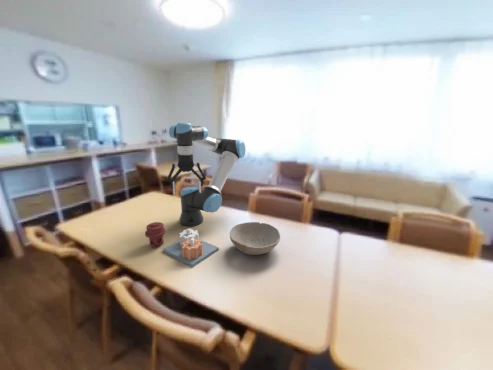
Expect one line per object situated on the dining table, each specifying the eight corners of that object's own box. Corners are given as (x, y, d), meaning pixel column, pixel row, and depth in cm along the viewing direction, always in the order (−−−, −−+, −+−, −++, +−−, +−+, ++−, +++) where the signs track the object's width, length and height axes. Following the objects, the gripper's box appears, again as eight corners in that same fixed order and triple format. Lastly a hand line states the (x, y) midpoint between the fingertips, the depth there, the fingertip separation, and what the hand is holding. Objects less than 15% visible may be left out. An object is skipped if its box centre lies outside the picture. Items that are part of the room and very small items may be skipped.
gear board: (189, 237, 135) (188, 222, 133) (218, 250, 123) (218, 233, 121) (162, 251, 121) (161, 234, 118) (192, 267, 109) (191, 249, 106)
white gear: (187, 236, 133) (187, 227, 131) (202, 240, 129) (201, 231, 127) (176, 244, 124) (175, 235, 123) (191, 249, 120) (190, 239, 119)
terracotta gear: (181, 250, 120) (181, 240, 118) (201, 247, 123) (200, 237, 121) (183, 260, 111) (182, 250, 109) (203, 257, 114) (203, 247, 112)
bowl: (285, 243, 131) (286, 227, 128) (269, 270, 108) (270, 251, 105) (243, 233, 141) (243, 217, 138) (219, 256, 118) (219, 238, 115)
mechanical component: (170, 241, 131) (160, 250, 121) (153, 238, 133) (142, 248, 123) (168, 220, 127) (158, 229, 118) (151, 218, 129) (140, 226, 120)
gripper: (159, 155, 114) (162, 197, 120) (210, 154, 122) (211, 193, 128) (159, 153, 121) (163, 192, 127) (208, 152, 129) (209, 189, 135)
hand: (187, 193), depth 128 cm, fingers open, 13 cm apart
